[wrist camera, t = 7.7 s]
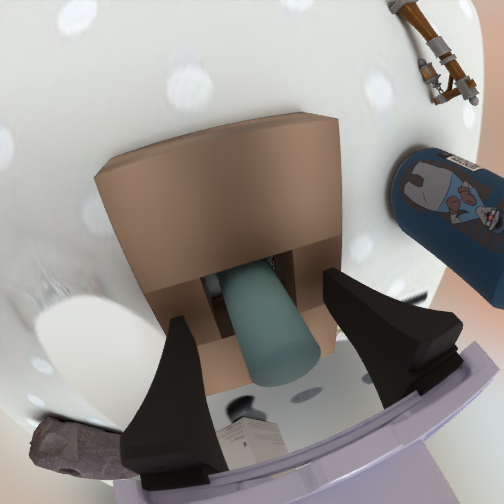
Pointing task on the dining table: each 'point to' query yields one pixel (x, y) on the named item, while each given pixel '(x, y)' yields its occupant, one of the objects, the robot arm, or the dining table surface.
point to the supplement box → (251, 443)
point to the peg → (267, 325)
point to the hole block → (230, 224)
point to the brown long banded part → (464, 85)
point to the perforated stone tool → (78, 450)
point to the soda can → (454, 216)
